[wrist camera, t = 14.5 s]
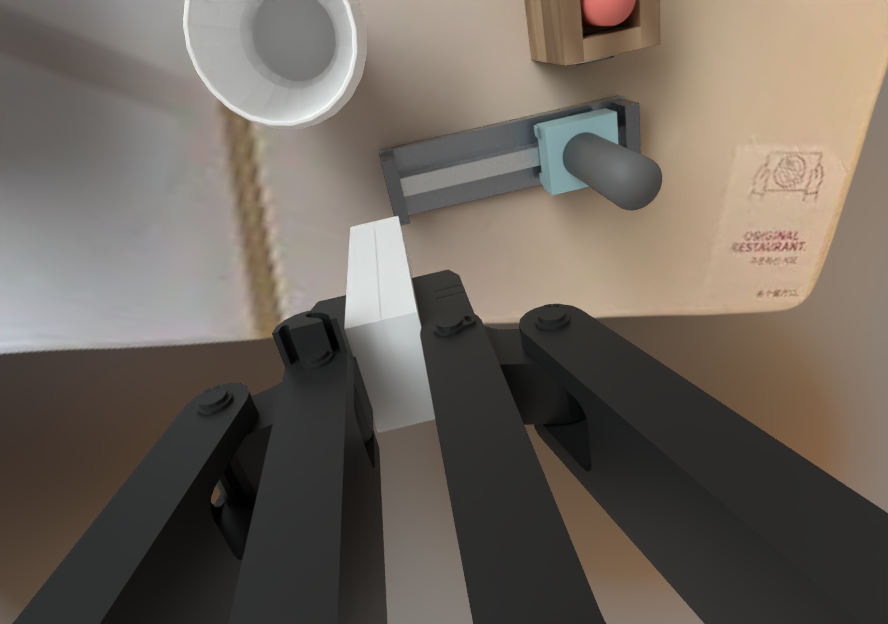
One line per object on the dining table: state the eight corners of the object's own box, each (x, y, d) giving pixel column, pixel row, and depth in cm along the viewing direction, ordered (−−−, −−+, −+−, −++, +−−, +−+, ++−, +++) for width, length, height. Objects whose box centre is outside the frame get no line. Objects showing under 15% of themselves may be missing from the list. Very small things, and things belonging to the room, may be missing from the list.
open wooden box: (532, 68, 48) (566, 75, 40) (520, -35, 44) (555, -49, 36) (610, 50, 48) (660, 54, 40) (605, -54, 44) (658, -72, 37)
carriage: (540, 185, 50) (595, 233, 38) (533, 122, 48) (590, 152, 36) (604, 170, 51) (679, 213, 39) (600, 107, 48) (679, 131, 36)
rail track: (394, 214, 52) (397, 228, 48) (378, 150, 49) (380, 160, 46) (621, 161, 53) (641, 171, 49) (618, 95, 50) (639, 100, 46)
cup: (271, 126, 47) (236, 163, 34) (202, -9, 42) (129, -27, 29) (386, 77, 47) (396, 95, 33) (330, -65, 42) (316, -111, 28)
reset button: (570, 30, 42) (592, 30, 38) (566, -18, 41) (588, -23, 37) (611, 21, 42) (636, 20, 38) (608, -27, 41) (635, -34, 37)
